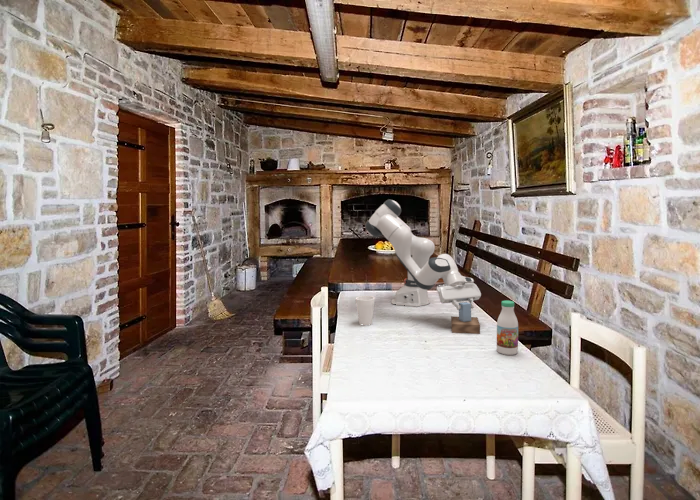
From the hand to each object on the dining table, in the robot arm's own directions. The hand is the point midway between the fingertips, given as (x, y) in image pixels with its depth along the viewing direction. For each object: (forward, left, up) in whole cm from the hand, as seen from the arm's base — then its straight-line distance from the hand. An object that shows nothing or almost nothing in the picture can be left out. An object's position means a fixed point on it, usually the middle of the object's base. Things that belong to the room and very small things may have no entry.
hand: (465, 308), depth 176 cm
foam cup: (-47, +3, -10) cm, 48 cm away
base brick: (0, +1, -10) cm, 10 cm away
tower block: (0, +1, -6) cm, 6 cm away
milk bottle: (+14, -25, -10) cm, 31 cm away
